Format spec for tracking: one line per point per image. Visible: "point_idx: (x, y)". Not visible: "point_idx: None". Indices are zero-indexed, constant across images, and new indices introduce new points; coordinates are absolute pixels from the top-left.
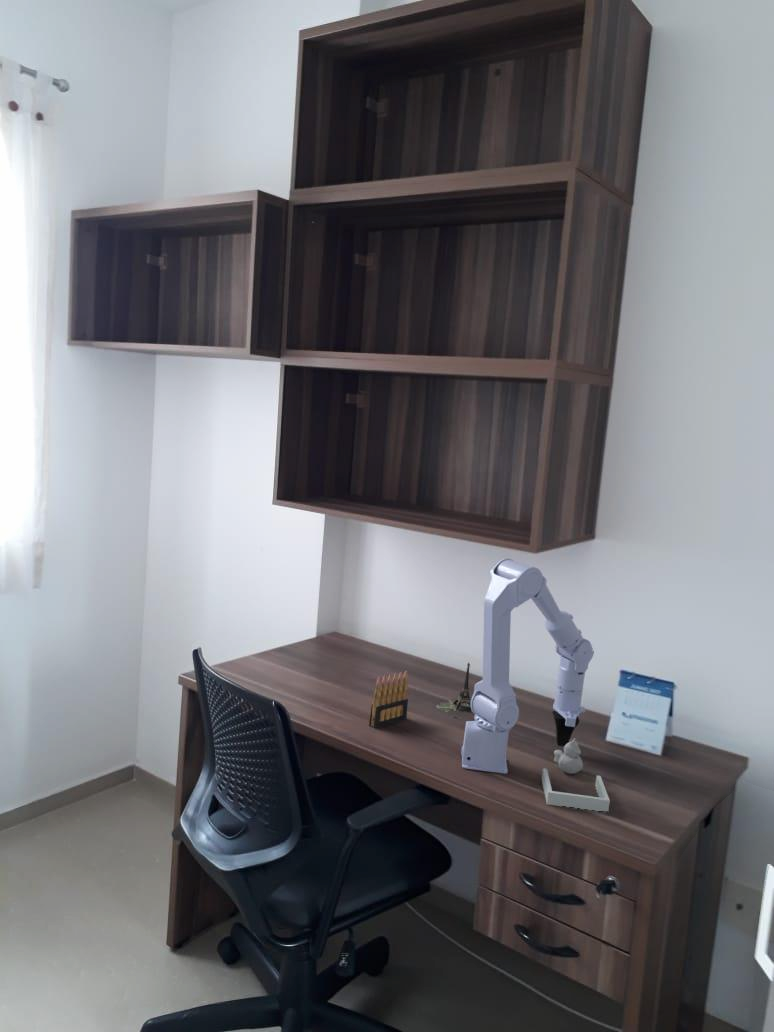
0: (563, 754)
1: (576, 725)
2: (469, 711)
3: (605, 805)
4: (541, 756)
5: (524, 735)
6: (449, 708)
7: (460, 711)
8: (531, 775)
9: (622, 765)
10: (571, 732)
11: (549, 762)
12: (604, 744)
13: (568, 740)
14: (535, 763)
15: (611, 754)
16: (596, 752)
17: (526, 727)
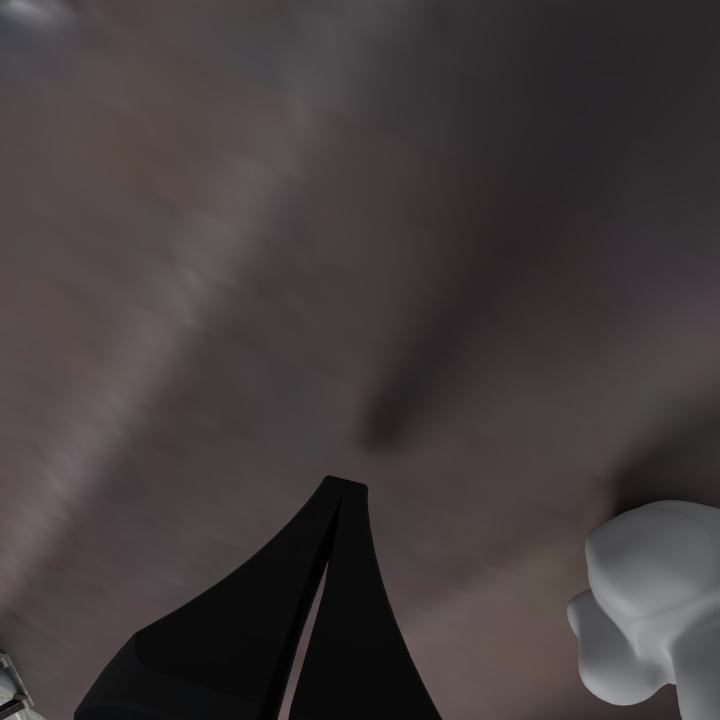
0: (672, 673)
1: (430, 702)
2: (10, 668)
3: None
4: (427, 589)
5: (175, 568)
6: (20, 712)
7: (27, 692)
8: (658, 706)
9: (586, 34)
10: (384, 595)
11: (505, 581)
12: (136, 68)
13: (368, 521)
14: (517, 643)
15: (339, 72)
16: (320, 216)
17: (68, 525)
